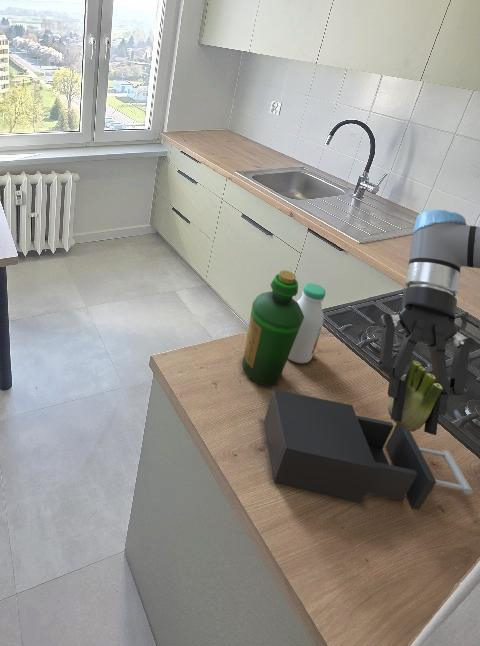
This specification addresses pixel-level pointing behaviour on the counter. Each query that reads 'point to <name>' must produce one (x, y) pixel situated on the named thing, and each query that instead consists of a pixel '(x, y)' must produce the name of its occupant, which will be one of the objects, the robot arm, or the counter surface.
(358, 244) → the counter surface
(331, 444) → the cabinet
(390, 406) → the fennel bulb
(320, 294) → the milk bottle
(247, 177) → the counter surface
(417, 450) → the drawer
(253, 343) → the bottle
